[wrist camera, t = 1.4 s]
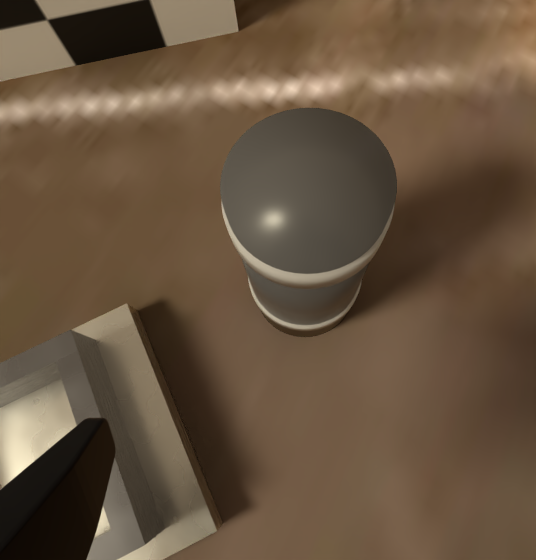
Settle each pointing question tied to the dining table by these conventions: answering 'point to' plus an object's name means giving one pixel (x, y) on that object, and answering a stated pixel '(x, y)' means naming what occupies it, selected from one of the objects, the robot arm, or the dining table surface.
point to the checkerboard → (100, 30)
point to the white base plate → (124, 427)
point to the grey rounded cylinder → (307, 213)
